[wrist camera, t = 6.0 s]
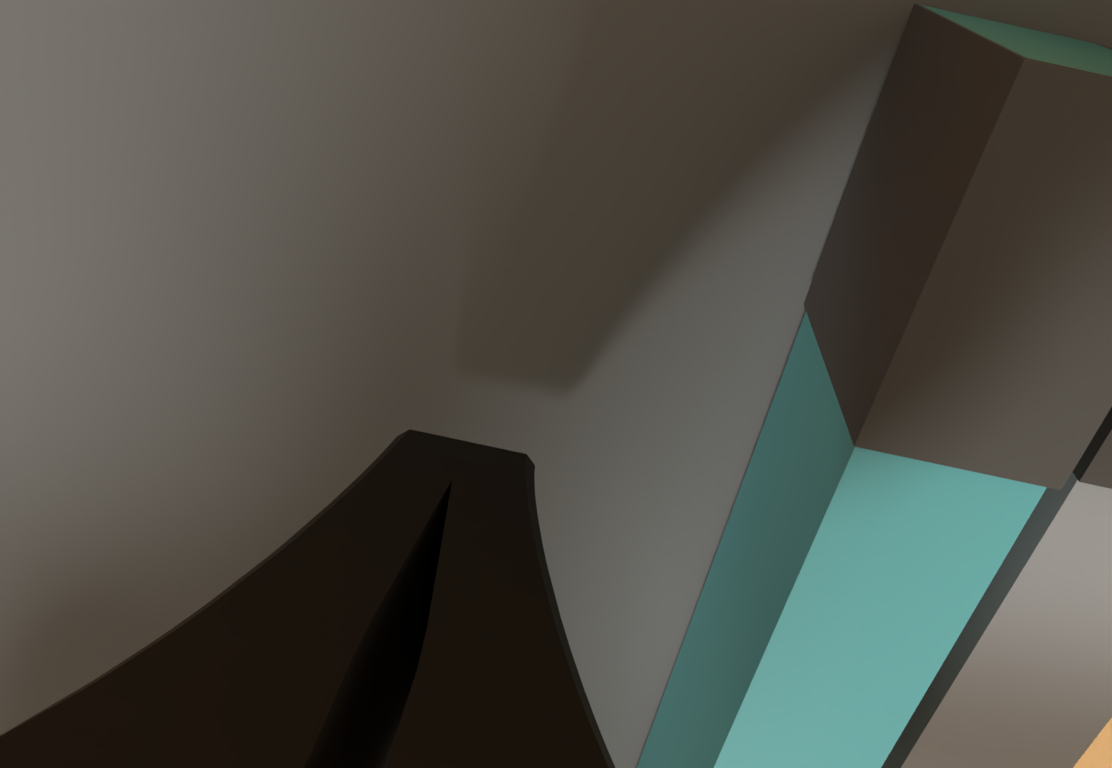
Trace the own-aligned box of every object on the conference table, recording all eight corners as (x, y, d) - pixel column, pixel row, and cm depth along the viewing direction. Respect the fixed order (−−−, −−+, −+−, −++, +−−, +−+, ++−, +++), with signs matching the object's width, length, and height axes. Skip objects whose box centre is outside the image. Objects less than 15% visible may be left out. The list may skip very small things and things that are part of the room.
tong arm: (688, 906, 15) (695, 1097, 13) (589, 886, 15) (578, 1073, 13) (1100, 44, 8) (1286, 115, 6) (914, 3, 8) (1024, 57, 6)
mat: (812, 1058, 18) (816, 1086, 18) (-49, 884, 18) (-66, 909, 18) (1704, -173, 7) (1772, -178, 7) (-474, -678, 7) (-546, -712, 7)
